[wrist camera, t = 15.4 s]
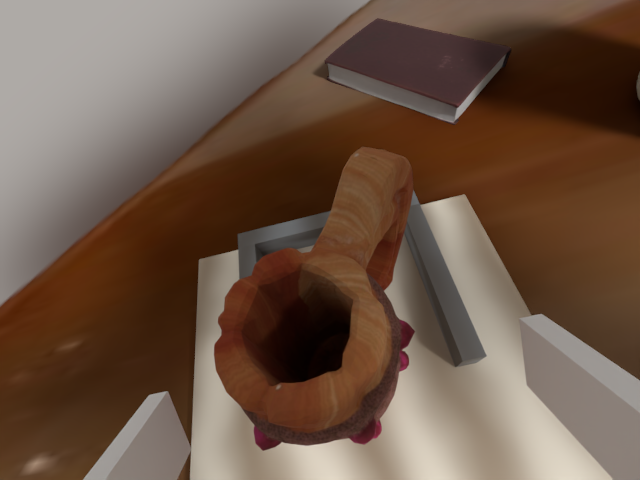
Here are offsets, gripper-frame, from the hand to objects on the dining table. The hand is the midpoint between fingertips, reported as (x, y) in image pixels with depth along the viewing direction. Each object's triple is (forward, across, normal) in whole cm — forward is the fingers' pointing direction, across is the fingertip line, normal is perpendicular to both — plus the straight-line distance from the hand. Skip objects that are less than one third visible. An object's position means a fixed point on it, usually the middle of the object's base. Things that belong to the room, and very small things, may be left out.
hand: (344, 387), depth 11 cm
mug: (+12, 0, -6) cm, 13 cm away
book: (+36, +15, +16) cm, 42 cm away
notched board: (+12, 0, -6) cm, 14 cm away
